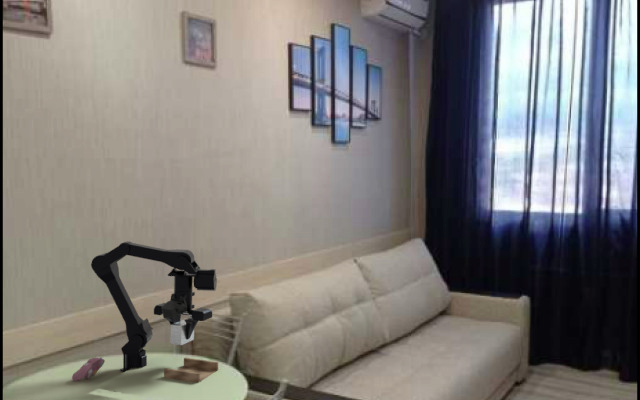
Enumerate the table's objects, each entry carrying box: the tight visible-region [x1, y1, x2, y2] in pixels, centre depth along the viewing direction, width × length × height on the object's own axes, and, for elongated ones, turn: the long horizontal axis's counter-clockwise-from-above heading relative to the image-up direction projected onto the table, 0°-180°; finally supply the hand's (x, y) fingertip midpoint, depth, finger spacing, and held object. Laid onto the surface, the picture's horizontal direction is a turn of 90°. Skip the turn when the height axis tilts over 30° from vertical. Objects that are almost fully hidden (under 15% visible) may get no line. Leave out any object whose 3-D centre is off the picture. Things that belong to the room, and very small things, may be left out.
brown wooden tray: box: [163, 357, 219, 383], centre depth 176 cm, size 12×12×4 cm
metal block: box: [169, 319, 195, 346], centre depth 183 cm, size 4×7×6 cm, turn 159°
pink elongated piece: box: [71, 356, 106, 382], centre depth 177 cm, size 10×5×7 cm, turn 168°
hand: (182, 338), depth 183 cm, fingers closed on metal block, 4 cm apart
